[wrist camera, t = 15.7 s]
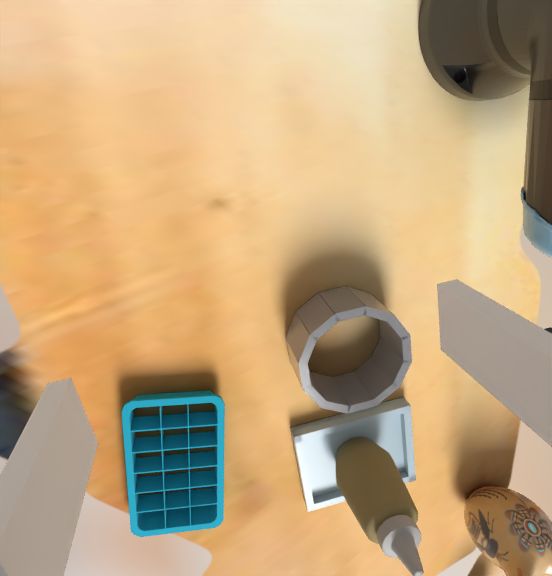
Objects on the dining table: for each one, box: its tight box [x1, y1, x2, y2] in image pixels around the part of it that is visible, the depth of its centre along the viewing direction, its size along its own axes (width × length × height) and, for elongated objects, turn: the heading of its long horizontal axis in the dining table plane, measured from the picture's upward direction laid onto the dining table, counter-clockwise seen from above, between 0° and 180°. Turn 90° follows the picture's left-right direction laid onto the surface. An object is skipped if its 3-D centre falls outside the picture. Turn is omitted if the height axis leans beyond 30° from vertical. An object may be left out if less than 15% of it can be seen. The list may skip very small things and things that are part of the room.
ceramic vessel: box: [464, 486, 552, 576], centre depth 60 cm, size 16×9×25 cm, turn 81°
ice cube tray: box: [122, 390, 225, 537], centre depth 57 cm, size 12×20×3 cm, turn 177°
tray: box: [291, 397, 416, 512], centre depth 62 cm, size 16×13×2 cm
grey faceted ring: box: [286, 286, 412, 414], centre depth 54 cm, size 13×13×6 cm
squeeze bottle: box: [335, 437, 424, 576], centre depth 54 cm, size 8×8×18 cm
